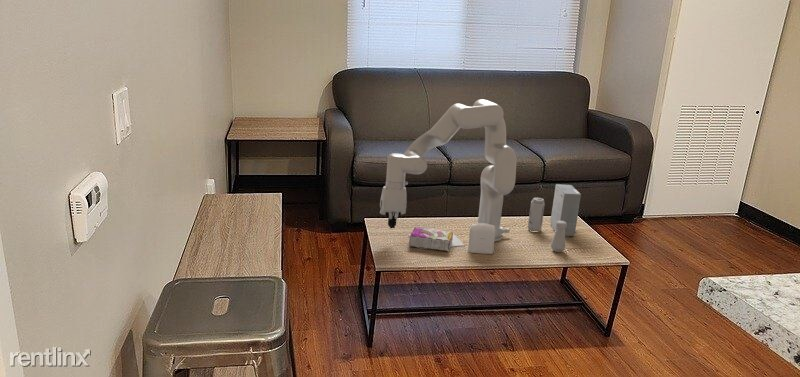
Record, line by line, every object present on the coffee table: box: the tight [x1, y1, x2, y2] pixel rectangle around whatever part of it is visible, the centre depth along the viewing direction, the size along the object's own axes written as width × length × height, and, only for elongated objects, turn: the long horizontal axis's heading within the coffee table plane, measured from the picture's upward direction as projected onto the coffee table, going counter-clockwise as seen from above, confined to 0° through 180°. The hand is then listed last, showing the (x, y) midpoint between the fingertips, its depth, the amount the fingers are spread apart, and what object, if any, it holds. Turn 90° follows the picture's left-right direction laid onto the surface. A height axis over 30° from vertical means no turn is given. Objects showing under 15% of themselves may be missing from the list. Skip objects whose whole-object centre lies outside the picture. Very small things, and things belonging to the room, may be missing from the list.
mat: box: [407, 233, 466, 250], centre depth 239 cm, size 20×15×1 cm
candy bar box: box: [408, 226, 454, 252], centre depth 233 cm, size 11×5×16 cm
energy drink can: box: [527, 196, 546, 232], centre depth 255 cm, size 6×6×15 cm
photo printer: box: [467, 222, 495, 255], centre depth 228 cm, size 10×4×12 cm, turn 87°
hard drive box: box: [549, 183, 582, 237], centre depth 256 cm, size 16×8×20 cm, turn 179°
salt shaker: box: [550, 221, 567, 253], centre depth 234 cm, size 6×6×13 cm
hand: (391, 227), depth 232 cm, fingers closed
